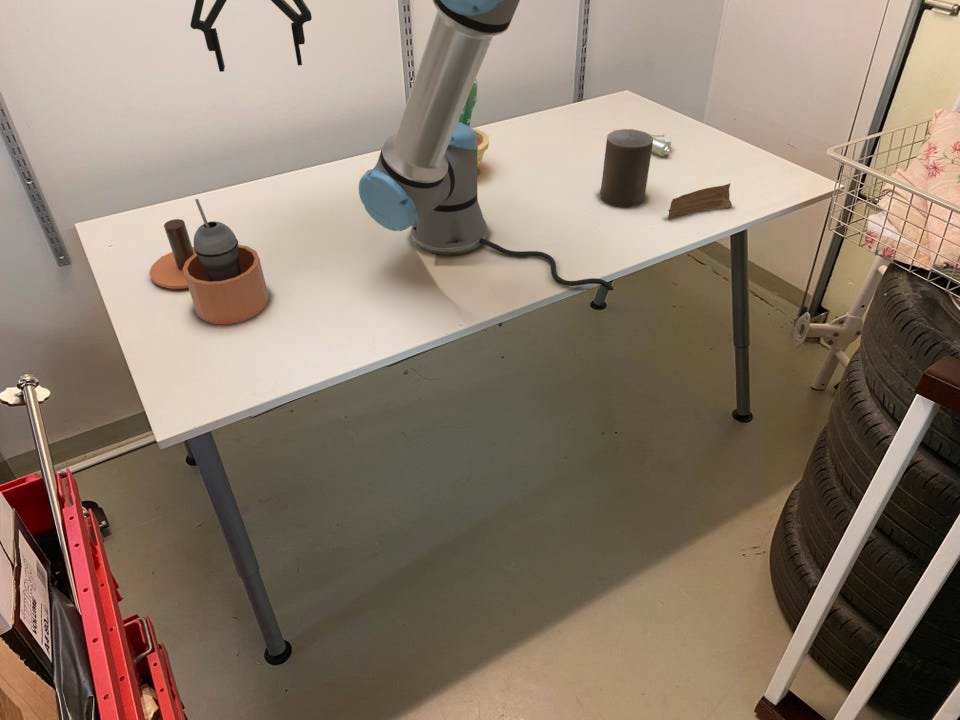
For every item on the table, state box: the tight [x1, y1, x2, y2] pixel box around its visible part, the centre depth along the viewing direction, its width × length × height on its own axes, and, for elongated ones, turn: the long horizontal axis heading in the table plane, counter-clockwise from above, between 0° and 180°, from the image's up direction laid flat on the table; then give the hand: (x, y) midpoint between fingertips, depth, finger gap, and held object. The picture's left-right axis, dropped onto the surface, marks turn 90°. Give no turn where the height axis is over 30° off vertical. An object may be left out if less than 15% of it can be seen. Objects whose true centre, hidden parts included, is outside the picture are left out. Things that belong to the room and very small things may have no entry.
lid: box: [149, 218, 195, 290], centre depth 135 cm, size 14×14×10 cm
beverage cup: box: [193, 198, 241, 282], centre depth 123 cm, size 7×7×20 cm
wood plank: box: [667, 182, 732, 220], centre depth 152 cm, size 15×2×5 cm, turn 114°
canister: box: [183, 244, 269, 325], centre depth 127 cm, size 13×13×8 cm
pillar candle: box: [599, 128, 653, 208], centre depth 155 cm, size 10×10×15 cm
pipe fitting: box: [650, 134, 672, 158], centre depth 176 cm, size 8×4×7 cm
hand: (261, 66), depth 130 cm, fingers open, 13 cm apart
